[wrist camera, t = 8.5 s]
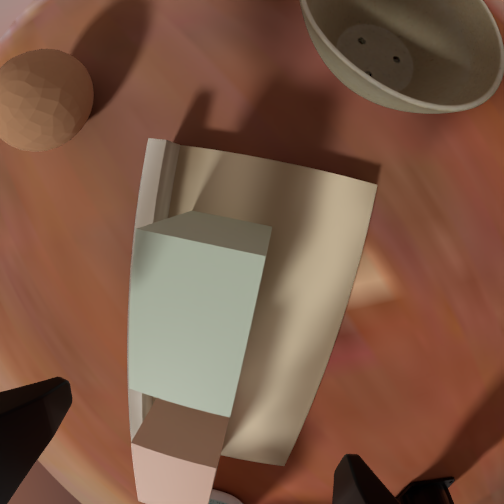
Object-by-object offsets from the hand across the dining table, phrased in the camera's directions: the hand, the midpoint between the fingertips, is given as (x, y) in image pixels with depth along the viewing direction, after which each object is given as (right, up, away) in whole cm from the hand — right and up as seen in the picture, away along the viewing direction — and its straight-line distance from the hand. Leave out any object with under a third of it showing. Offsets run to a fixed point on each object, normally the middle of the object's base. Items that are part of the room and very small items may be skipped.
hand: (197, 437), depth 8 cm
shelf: (+1, 0, +12) cm, 12 cm away
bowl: (+9, +17, +7) cm, 21 cm away
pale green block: (0, +4, +10) cm, 11 cm away
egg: (-11, +15, +10) cm, 21 cm away
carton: (-2, -7, +12) cm, 14 cm away
